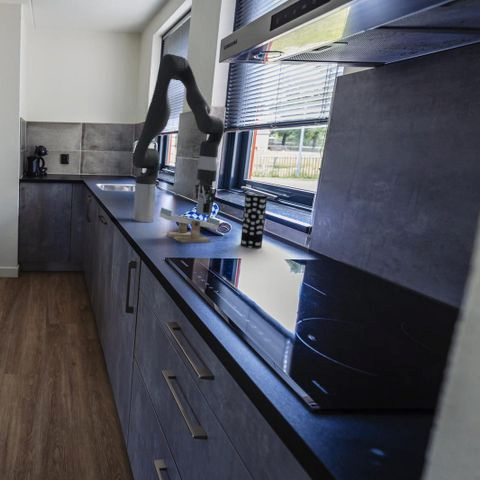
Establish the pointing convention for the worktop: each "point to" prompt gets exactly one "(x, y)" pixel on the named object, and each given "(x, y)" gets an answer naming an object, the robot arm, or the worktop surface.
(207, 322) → the worktop surface
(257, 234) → the spotted tube
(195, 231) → the pivot stand
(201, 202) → the steel weight
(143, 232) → the worktop surface
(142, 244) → the worktop surface
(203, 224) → the beam
